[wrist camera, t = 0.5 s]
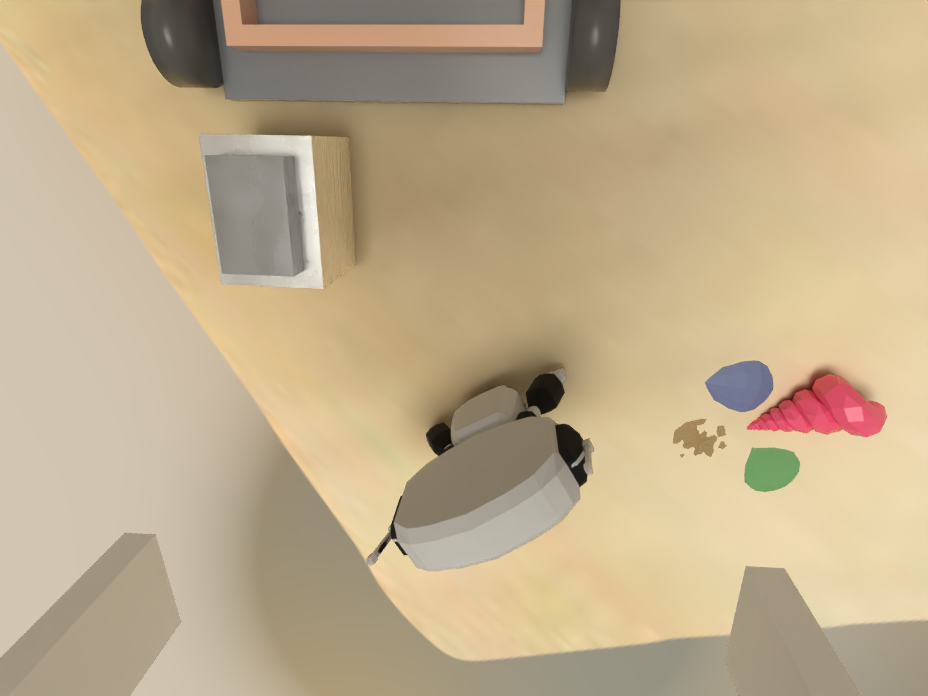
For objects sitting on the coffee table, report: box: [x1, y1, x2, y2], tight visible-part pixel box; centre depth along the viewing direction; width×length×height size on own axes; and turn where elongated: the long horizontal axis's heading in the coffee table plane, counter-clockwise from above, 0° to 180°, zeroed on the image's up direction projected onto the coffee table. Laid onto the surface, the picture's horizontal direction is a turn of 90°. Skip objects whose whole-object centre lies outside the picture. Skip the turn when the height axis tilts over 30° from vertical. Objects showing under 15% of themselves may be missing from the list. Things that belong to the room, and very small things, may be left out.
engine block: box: [199, 134, 356, 289], centre depth 31 cm, size 8×6×8 cm
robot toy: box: [366, 368, 594, 571], centre depth 32 cm, size 12×4×15 cm, turn 120°
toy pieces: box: [673, 361, 887, 492], centre depth 36 cm, size 12×11×4 cm
